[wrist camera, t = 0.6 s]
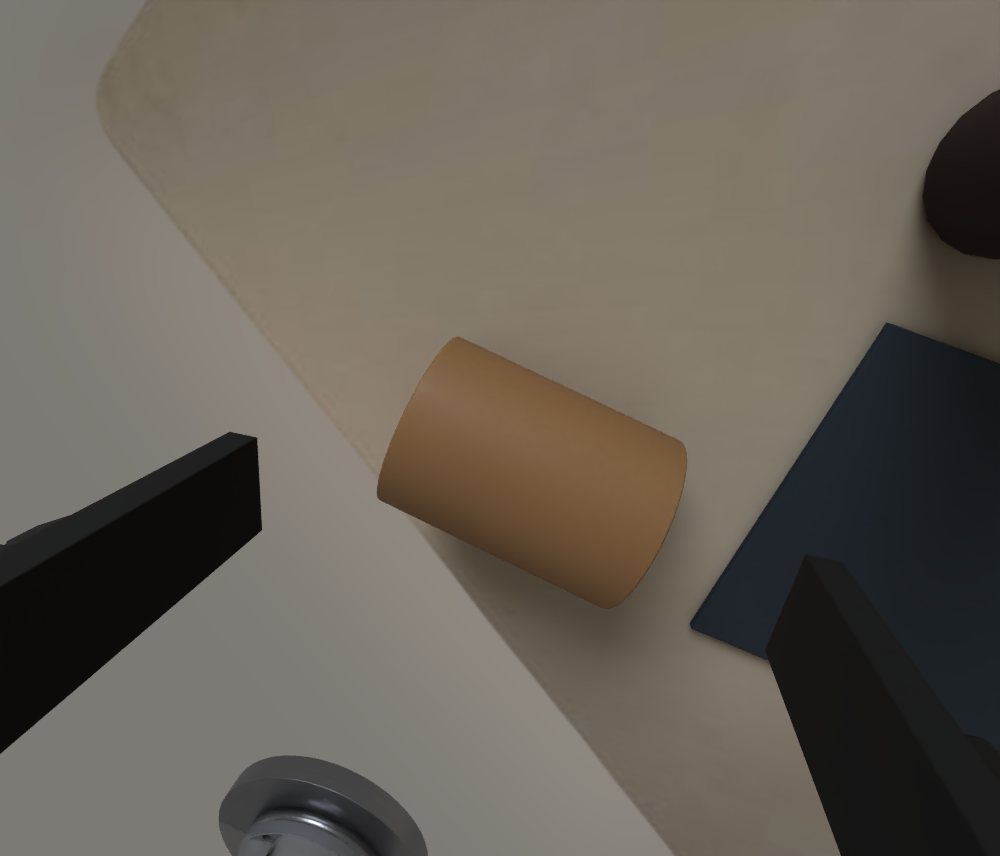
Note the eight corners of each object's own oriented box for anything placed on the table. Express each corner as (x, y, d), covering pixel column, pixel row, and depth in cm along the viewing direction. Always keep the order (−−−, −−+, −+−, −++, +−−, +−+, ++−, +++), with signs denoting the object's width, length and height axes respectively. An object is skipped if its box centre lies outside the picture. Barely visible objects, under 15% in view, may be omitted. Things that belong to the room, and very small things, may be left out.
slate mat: (1003, 753, 31) (1009, 760, 31) (689, 622, 32) (690, 628, 32) (1318, 481, 23) (1332, 486, 23) (886, 322, 24) (891, 323, 24)
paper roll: (676, 416, 28) (702, 494, 20) (599, 540, 32) (595, 649, 23) (474, 321, 28) (418, 359, 20) (422, 454, 32) (355, 532, 24)
